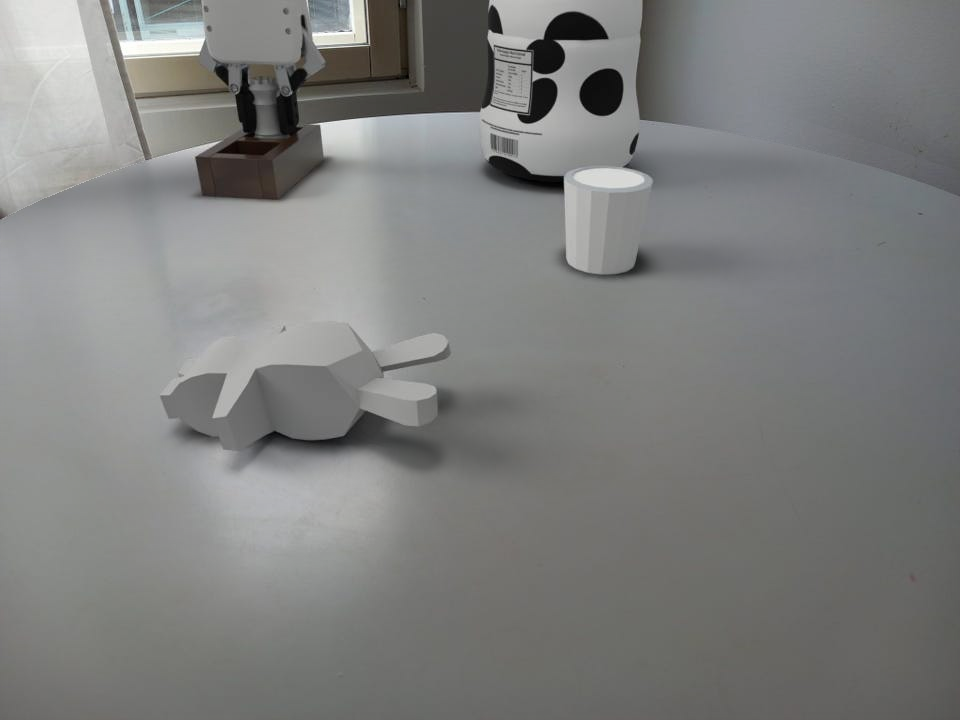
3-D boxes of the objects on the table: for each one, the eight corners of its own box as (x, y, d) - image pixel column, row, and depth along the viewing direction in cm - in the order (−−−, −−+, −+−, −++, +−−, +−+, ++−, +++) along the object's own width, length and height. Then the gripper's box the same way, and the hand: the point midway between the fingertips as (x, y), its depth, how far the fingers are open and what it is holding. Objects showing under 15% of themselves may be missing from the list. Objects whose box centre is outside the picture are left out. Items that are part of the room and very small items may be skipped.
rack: (202, 196, 75) (194, 156, 73) (258, 156, 87) (253, 122, 85) (277, 199, 74) (272, 159, 72) (324, 159, 86) (320, 124, 84)
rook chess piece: (273, 161, 80) (262, 83, 76) (244, 155, 82) (231, 79, 78) (302, 151, 83) (293, 76, 79) (273, 146, 85) (263, 72, 81)
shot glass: (577, 282, 57) (584, 194, 54) (547, 249, 63) (551, 167, 60) (657, 272, 59) (669, 186, 55) (621, 241, 65) (629, 161, 61)
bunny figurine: (200, 311, 44) (447, 293, 42) (224, 383, 47) (459, 369, 45) (122, 399, 36) (424, 382, 34) (157, 480, 39) (439, 468, 37)
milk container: (632, 152, 89) (650, -15, 80) (637, 198, 75) (660, 0, 65) (489, 146, 91) (491, -17, 82) (467, 190, 77) (466, -3, 67)
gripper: (339, -61, 74) (353, 126, 84) (183, -64, 76) (214, 119, 85) (315, -60, 68) (333, 143, 77) (145, -62, 70) (182, 135, 79)
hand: (270, 129), depth 81 cm, fingers closed on rook chess piece, 3 cm apart
